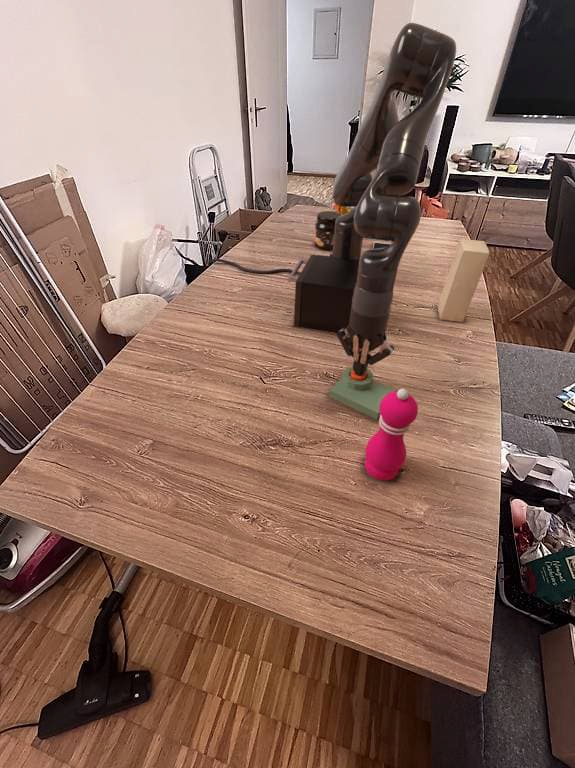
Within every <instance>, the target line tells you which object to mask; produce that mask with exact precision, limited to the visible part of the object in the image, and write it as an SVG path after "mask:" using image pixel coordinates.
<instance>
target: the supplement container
mask: <svg viewBox="0 0 575 768" xmlns="http://www.w3.org/2000/svg"><path fill="white" fill-rule="evenodd" d="M339 216H341V214H340V213H338V212H336V211H335V210H323V211H320V212H318V213H317V214H316V221H315V223H314V242H313V243H314V246H315V247H316V248H317V249H319V250H321V251H333V243H334V232H335V222H336V219H337V218H338V217H339Z"/></svg>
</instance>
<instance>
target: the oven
mask: <svg viewBox="0 0 575 768" xmlns="http://www.w3.org/2000/svg"><path fill="white" fill-rule="evenodd" d="M316 255H317V256H316V257H315V259H314V261H313V263H312V265H311V267H310V268H309V270H308V272H307V274H306V276H305V277H304V279H303V281H302V292H301V319H300V326H299V327H300V328H303V329H310V330H316V331H322V332H328V333H334V334H337V333H338V332H339V331H340V330H341V329H342V328H347V326H348V325H349V320H350V313H351V306H352V297H353V292H354V289H355V285H356V281H357V274H358V266H359V260H355V259H347V258H339V257H331V256H330V255H323V254H316Z"/></svg>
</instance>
